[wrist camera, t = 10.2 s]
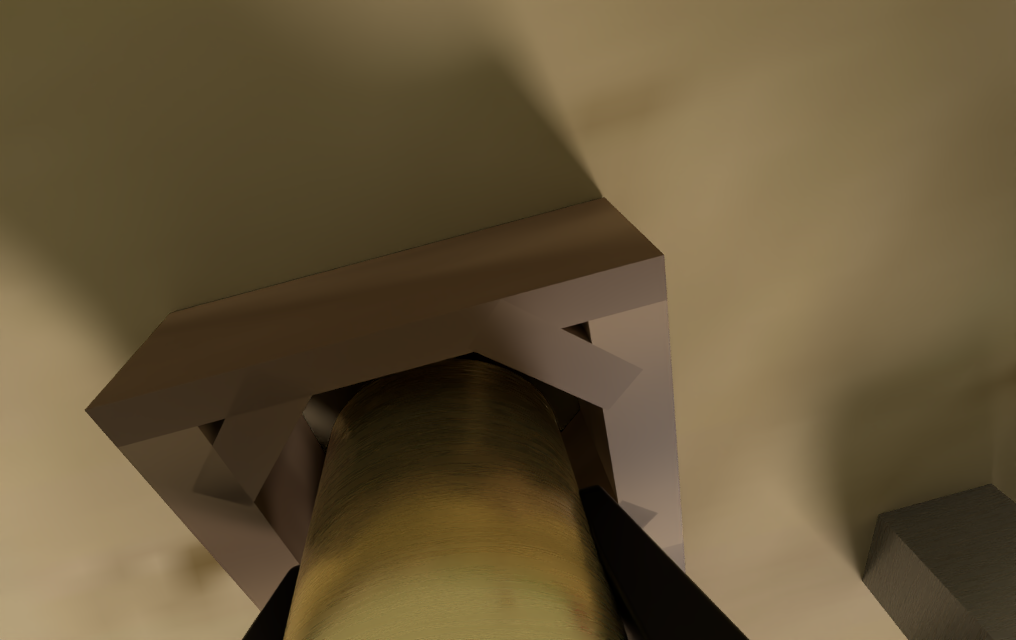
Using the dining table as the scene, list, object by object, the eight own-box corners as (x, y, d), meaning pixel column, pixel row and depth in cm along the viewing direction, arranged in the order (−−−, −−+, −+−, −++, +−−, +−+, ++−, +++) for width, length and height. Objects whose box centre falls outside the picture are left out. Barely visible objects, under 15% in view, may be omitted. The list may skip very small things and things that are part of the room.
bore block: (660, 644, 20) (696, 738, 17) (433, 706, 19) (435, 810, 17) (604, 197, 10) (664, 255, 8) (170, 313, 10) (84, 410, 8)
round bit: (574, 497, 12) (721, 965, 6) (377, 550, 12) (328, 1074, 6) (535, 330, 10) (720, 845, 4) (287, 397, 10) (54, 1028, 4)
